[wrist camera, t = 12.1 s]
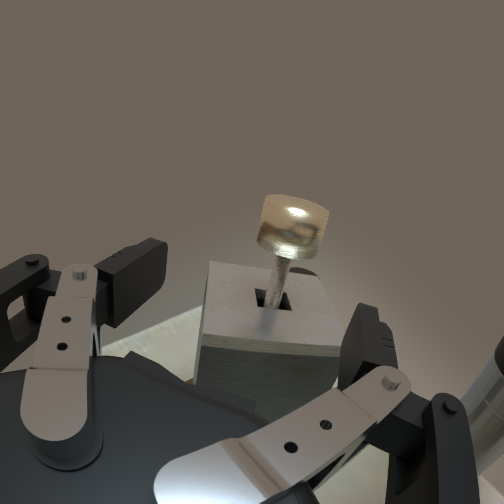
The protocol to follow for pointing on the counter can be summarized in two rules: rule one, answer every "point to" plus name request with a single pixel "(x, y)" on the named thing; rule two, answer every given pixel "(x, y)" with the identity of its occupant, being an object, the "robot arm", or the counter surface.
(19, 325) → the robot arm
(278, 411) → the square holed block
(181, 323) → the counter surface
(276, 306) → the plunger
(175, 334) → the counter surface
